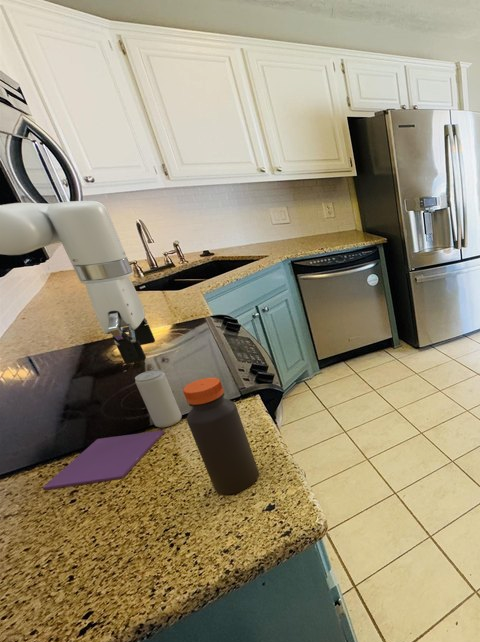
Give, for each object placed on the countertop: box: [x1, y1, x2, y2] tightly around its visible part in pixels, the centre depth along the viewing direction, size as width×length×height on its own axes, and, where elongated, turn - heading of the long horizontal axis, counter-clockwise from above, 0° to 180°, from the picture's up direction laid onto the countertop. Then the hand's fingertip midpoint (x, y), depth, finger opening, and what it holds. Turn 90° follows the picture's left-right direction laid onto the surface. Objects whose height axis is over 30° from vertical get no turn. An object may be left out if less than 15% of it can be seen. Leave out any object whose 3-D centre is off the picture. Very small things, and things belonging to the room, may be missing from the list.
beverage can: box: [134, 369, 183, 429], centre depth 87 cm, size 5×5×12 cm
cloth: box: [42, 430, 165, 491], centre depth 79 cm, size 12×14×1 cm
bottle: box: [182, 377, 260, 496], centre depth 69 cm, size 7×7×20 cm
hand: (141, 352), depth 83 cm, fingers open, 9 cm apart
